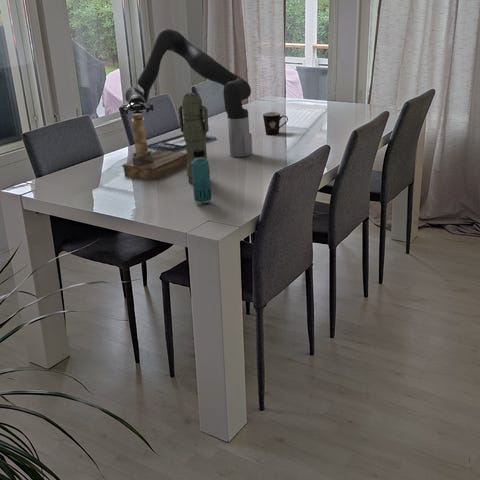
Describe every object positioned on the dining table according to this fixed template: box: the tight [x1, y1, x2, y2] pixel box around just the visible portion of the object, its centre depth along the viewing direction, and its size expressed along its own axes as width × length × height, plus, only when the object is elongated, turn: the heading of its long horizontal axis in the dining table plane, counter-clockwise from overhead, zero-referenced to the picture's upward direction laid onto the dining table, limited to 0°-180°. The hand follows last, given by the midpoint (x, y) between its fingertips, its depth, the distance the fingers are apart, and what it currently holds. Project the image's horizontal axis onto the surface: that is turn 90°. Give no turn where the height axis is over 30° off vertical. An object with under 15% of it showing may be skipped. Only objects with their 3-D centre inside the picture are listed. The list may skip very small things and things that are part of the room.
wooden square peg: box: [131, 113, 149, 157], centre depth 285 cm, size 5×5×20 cm
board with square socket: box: [121, 150, 188, 181], centre depth 291 cm, size 17×25×8 cm
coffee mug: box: [262, 111, 289, 136], centre depth 338 cm, size 12×9×10 cm
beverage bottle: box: [191, 149, 213, 203], centre depth 244 cm, size 6×7×20 cm
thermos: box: [178, 92, 211, 185], centre depth 267 cm, size 9×12×35 cm
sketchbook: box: [147, 133, 217, 152], centre depth 334 cm, size 22×30×2 cm
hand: (137, 110), depth 291 cm, fingers open, 8 cm apart
